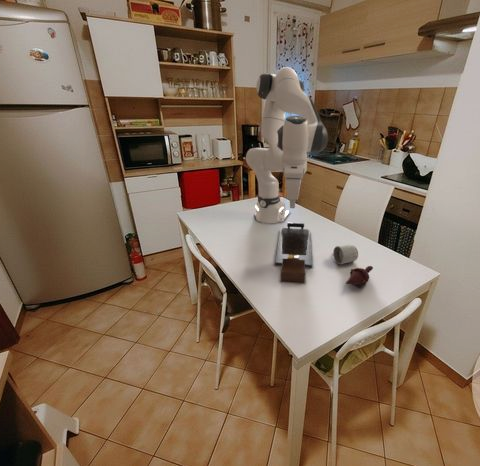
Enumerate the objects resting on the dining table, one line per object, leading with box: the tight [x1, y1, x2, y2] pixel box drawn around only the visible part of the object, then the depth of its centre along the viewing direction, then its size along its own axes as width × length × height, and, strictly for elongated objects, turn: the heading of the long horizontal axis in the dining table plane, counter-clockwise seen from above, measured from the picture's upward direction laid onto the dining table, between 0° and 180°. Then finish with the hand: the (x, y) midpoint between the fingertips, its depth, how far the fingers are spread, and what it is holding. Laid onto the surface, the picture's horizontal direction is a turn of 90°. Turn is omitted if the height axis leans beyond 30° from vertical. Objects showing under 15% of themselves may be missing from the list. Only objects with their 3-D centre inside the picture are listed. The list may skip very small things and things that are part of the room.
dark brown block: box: [280, 259, 306, 284], centre depth 103 cm, size 9×9×5 cm
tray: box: [274, 228, 313, 269], centre depth 123 cm, size 31×15×2 cm, turn 174°
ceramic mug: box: [332, 244, 359, 265], centre depth 113 cm, size 11×8×8 cm
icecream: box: [346, 265, 374, 287], centre depth 98 cm, size 7×7×15 cm
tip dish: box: [282, 222, 309, 255], centre depth 104 cm, size 15×10×3 cm
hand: (292, 202), depth 100 cm, fingers open, 8 cm apart
